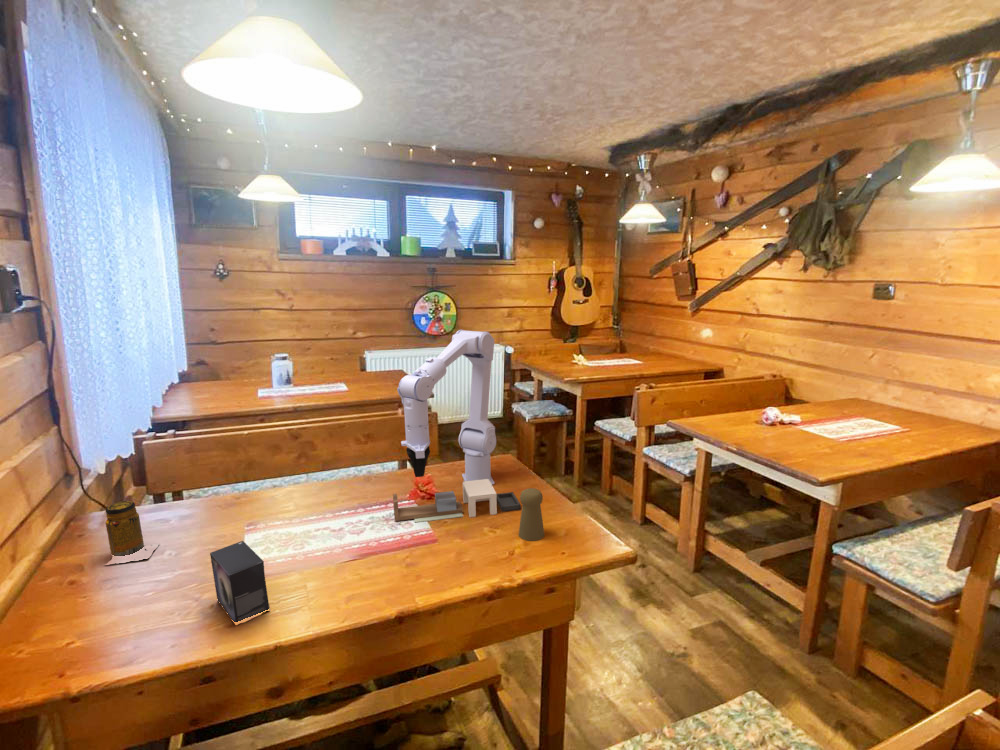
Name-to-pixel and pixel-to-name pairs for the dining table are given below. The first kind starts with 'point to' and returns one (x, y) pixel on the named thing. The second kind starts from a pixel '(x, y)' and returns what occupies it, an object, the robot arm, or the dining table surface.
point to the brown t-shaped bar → (429, 507)
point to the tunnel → (479, 495)
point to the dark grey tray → (508, 502)
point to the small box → (239, 581)
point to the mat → (438, 517)
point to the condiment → (123, 528)
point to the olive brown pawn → (531, 515)
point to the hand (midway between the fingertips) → (419, 475)
